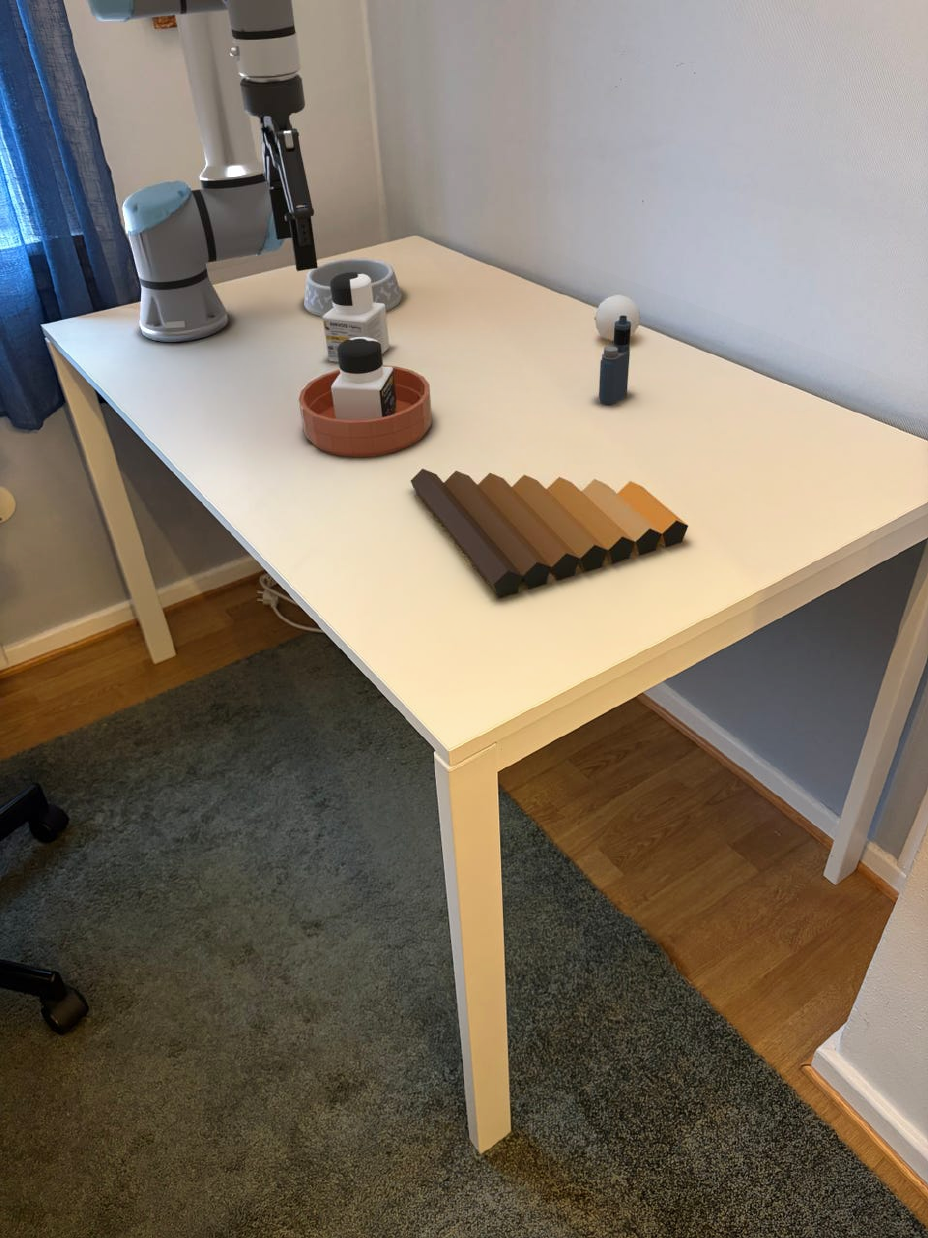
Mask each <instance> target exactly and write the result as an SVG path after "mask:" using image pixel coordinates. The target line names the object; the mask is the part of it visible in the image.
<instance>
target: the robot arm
mask: <svg viewBox="0 0 928 1238" xmlns="http://www.w3.org/2000/svg"><path fill="white" fill-rule="evenodd" d="M86 1H87V4H88V7H89V10H90V13H91V15H92V16H93V18H94V19H96V20H97V21H100V22H121V23H127V22H128V21H132V20H140V19H149V18H150V19H151V18H158V17H170V16H174V17H175V22H176V26H177V31H178V36H179V41H180V45H181V50H182V55H183V59H184V64H185V69H186V74H187V79H188V83H189V88H190V93H191V98H192V103H193V107H194V112H195V117H196V121H197V126H198V131H199V136H200V141H201V145H202V149H203V155H204V159H205V167H204V169H203V170H202V172H201V173H200V175H199V180H200V184H201V188H200V189H192V188H191V187H190V185H189V183H188V182H185V181H183V180H175V181H164V182H159V183H155V184H151V185H149V186H147V187H143V188H141V189H138V190H137V191H135V192H133V193H132V194H130V195H129V196H127V197H126V199H125V200H124V202H123V204H122V213H123V214H122V215H123V219H124V223H125V229H124V230H125V233H126V234H127V235H128V238H129V243H130V246H131V251H132V254H133V259H134V263H135V267H136V272H137V275H138V276H137V277H138V279H139V283H140V288H141V295H140V309H139V311H140V312H139V326H140V329H141V333H142V335H143V336H144V337H145V338H147V339H149V340H151V341H155V342H163V343H178V342H179V343H181V342H187V341H194V340H199V339H203V338H206V337H210V336H211V335H214V334H216V333H217V332H219V331H221V330H222V329H224V328H225V327H227V324H228V322H229V318H228V313H227V308H226V307H225V305H224V304H223V301H222V300H221V298H220V296H219V294H218V292H217V291H216V289H215V287H214V286H213V284H212V281H211V280H210V277H209V273H208V269H207V264H208V263H214V262H215V263H216V262H220V261H226V260H231V259H237V258H244V257H250V256H255V255H256V256H257V257H259V256H261V255H262V254H267V253H273V252H276V251H278V250H280V249H281V247H283V245H284V242H285V240H286V239H291V243H292V249H293V256H294V263H295V269H296V271H297V272H301V271H308V270H312V269H315V268H318V266H319V265H318V259H317V251H316V244H315V237H314V230H313V222H312V217H314V215H315V209H314V207H313V204H312V198H311V194H310V189H309V188H310V187H309V184H308V180H307V174H306V170H305V165H304V159H303V156H302V155H303V154H302V150H301V145H300V138H299V137H300V133H299V131H298V129H297V128H296V127H295V128H293V125H292V124H291V120H290V116H291V115H293V114H297V113H300V112H303V110H304V109H305V107H306V100H305V93H304V85H303V78H302V77H301V76H300V75H299V74H298V72H299V71H300V70H301V69H302V67H301V59H300V51H299V42H298V34H297V31H296V27H295V19H294V11H293V9H294V8H293V2H292V0H86ZM250 116H251V117H256V118H258V122H259V131H260V132H259V133H260V141H261V142H260V144H261V151H262V152H261V153H262V155H261V156H262V161H260V159H259V158H258V154H257V149H256V144H255V137H254V132H253V128H252V123H251V122H252V121H251V117H250Z"/></svg>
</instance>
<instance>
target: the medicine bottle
mask: <svg viewBox="0 0 928 1238" xmlns="http://www.w3.org/2000/svg"><path fill="white" fill-rule="evenodd" d="M337 353H338V360H339V362H338V367H339V369H340V374H339V376H338V377H337V379H336V380H335V382H334V383H333V384H332V386H331V389H332V396H333V403H334V410H335V417H336V419H342V420H368V419H375V418H380V417H385V416H390V415H393V414H395V413H397V404H396V394H395V383H394V373H393V368H392V367H383V365H384V361H383V354H382V351H381V344H380V343H379V342H378V341H377V340H375V339H372V338H368V337H354V338H350V339H348V340H345V341H343V342H342V343H340V345H339V346H338V348H337Z"/></svg>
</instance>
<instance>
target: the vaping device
mask: <svg viewBox="0 0 928 1238" xmlns="http://www.w3.org/2000/svg"><path fill="white" fill-rule="evenodd" d="M614 327H615V328H614V341H613V345H608V346H605V347H604V348H603V353H602V355H601V359H600V362H599V363H600V364H599V367H600V368H599V385H598V386H599V387H598V398H599V403H600V404H602V405H605V406H612V405H614V404H616V403H618V402H619V401H621V400H623V399H624V398H626V397H627V396H628V385H629V371H630V357H631V356H630V354H631V336H630V333H631V322H629V321H627V316H624V315H623V316H620V317H619V321H616V322H615V325H614Z"/></svg>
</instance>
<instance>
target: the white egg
mask: <svg viewBox="0 0 928 1238" xmlns="http://www.w3.org/2000/svg"><path fill="white" fill-rule="evenodd" d="M593 307H594V308H597V309H596V311H595V316H594V319H593V320H594V321H595V328H596V330H597V332H598V334H599V335H600V336H602V337H603V338H604V339H606V340H607V341H611V342H614V328H615V327H614V325H615V322H616V321H619V317H620V316H623V315H624V316H627V321H629V322H631V333H630V337H632V336H633V335H634V334H635V333H636V331H637V330H638V327H639V326H640V322H641V321H640V320H641V315H640V309H639V308H638V305H637V303H636V302H635V301H634V300H633V299H631V297H629V296H625V295H624V294H614V295H611V296H609V297H606V298H605V299H604V300H603V301H601V302H600V304H599V306H595V305H593Z"/></svg>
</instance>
